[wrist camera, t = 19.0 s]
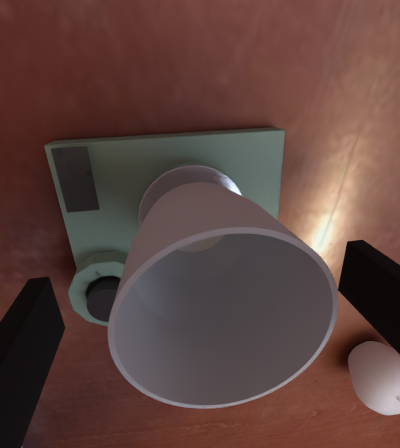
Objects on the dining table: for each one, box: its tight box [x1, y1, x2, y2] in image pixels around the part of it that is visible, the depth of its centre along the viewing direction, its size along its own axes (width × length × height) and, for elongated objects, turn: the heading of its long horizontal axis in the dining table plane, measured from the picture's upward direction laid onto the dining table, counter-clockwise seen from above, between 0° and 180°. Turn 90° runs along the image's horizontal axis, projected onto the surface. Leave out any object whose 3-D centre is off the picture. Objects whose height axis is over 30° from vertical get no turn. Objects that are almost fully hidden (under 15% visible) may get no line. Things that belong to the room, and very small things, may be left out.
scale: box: [44, 127, 285, 326], centre depth 22 cm, size 16×14×4 cm
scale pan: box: [51, 146, 243, 228], centre depth 19 cm, size 12×9×1 cm
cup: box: [108, 182, 338, 408], centre depth 14 cm, size 8×8×10 cm
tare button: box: [87, 277, 121, 322], centre depth 21 cm, size 3×3×2 cm
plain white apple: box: [348, 341, 400, 415], centre depth 31 cm, size 7×7×8 cm
